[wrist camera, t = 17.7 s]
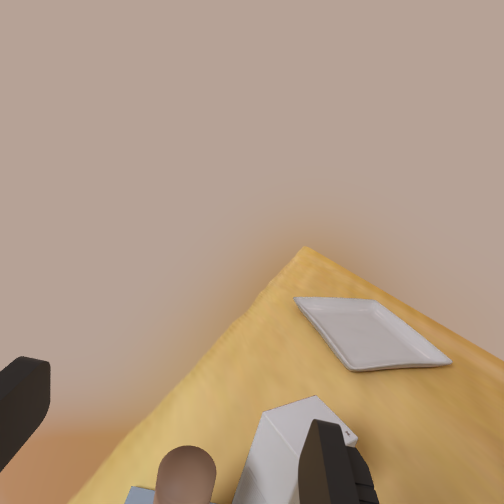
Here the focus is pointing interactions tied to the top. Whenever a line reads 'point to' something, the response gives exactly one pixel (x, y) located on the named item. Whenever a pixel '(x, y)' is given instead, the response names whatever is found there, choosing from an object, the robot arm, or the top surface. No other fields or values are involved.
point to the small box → (282, 452)
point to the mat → (141, 496)
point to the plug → (185, 477)
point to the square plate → (368, 334)
